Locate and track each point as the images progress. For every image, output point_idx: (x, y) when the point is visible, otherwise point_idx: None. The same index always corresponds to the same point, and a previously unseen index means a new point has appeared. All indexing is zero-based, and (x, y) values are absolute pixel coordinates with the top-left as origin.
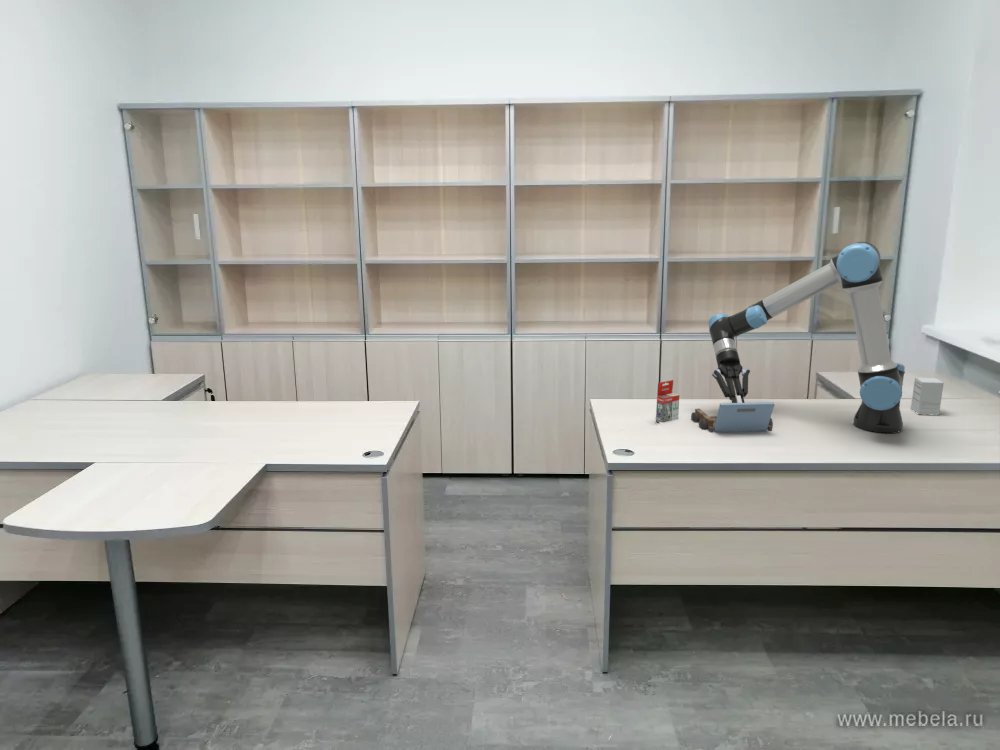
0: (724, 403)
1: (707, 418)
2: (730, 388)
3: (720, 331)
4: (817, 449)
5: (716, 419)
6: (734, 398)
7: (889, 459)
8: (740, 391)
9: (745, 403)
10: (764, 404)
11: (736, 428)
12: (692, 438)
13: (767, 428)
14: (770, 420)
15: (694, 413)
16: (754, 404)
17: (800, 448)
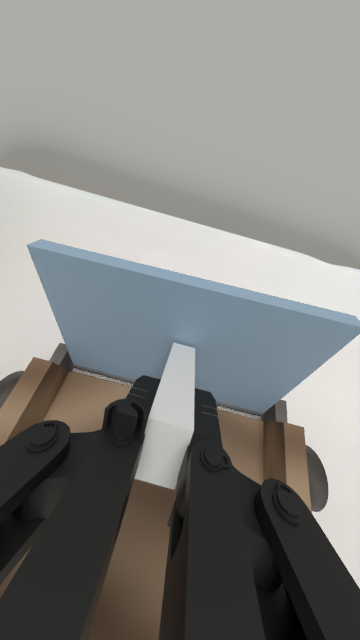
0: (337, 318)
1: (304, 464)
2: (255, 631)
3: None
4: (77, 237)
5: (291, 387)
6: (204, 429)
7: (12, 177)
8: (109, 474)
9: (204, 284)
10: (97, 256)
11: None
12: (334, 392)
13: (67, 361)
14: (15, 378)
15: None
16: (155, 268)
17: (106, 250)
